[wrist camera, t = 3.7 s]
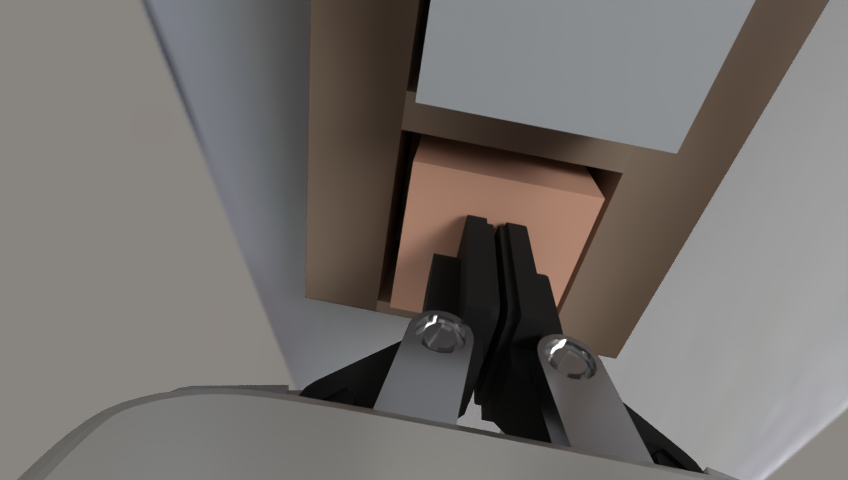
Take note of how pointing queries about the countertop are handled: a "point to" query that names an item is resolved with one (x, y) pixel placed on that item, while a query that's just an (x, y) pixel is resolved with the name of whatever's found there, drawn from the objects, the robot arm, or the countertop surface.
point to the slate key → (580, 63)
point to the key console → (605, 160)
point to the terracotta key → (491, 209)
